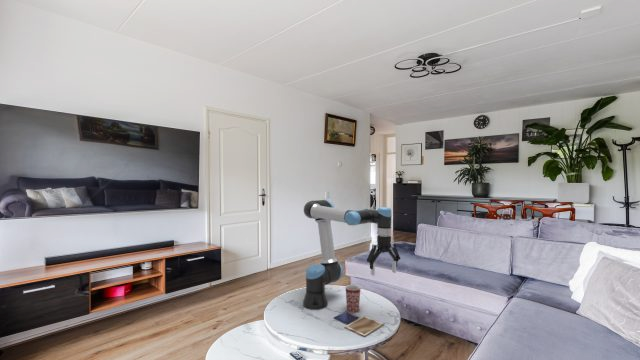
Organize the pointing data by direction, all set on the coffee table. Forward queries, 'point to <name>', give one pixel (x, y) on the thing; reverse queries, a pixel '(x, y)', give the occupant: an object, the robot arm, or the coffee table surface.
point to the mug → (352, 297)
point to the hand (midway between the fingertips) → (383, 273)
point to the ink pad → (345, 318)
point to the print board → (364, 326)
